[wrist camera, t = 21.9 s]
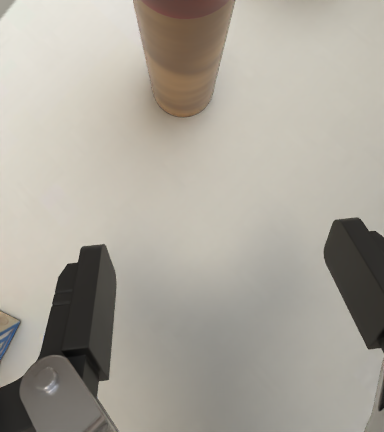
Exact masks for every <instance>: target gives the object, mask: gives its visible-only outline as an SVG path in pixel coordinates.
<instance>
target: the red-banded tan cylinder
mask: <svg viewBox="0 0 384 432" xmlns="http://www.w3.org/2000/svg"><path fill="white" fill-rule="evenodd" d="M133 3H134V8H135V12H136V17H137V22H138V26H139V31H140V35H141V40H142V45H143V49H144V54H145V58H146V63H147V68H148V72H149V77H150V81H151V86H152V91H153V95H154V97H155V100H156V102H157V103H158V105H159V106H160V107H161V108H162V109H163V110H164V111H166V112H167V113H169V114H171V115H174V116H178V117H188V116H193V115H195V114H197V113H199V112H201V111H202V110H203V109H204V108H205V107H206V106H207V105H208V104H209V102H210V100H211V98H212V95H213V91H214V87H215V82H216V78H217V74H218V70H219V66H220V62H221V58H222V53H223V49H224V45H225V41H226V37H227V33H228V29H229V24H230V20H231V16H232V12H233V8H234V4H235V0H133Z"/></svg>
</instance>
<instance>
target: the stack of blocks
mask: <svg viewBox="0 0 384 432" xmlns="http://www.w3.org/2000/svg"><path fill="white" fill-rule="evenodd" d="M19 324H20V321H19V320H17V319H15V318H13V317H11V316H9V315H7V314H5V313H3V312H1V311H0V361H1V358H2V356H3V355H4V353H5V351H6V349H7V347H8V345H9V343H10V341H11V339H12V337H13V335H14V334H15V332H16V330H17V328H18V326H19Z"/></svg>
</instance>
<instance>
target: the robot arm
mask: <svg viewBox="0 0 384 432" xmlns="http://www.w3.org/2000/svg"><path fill="white" fill-rule="evenodd" d="M324 259H325V262H326V265H327V267H328V269H329V271H330V273H331V275H332V277H333V279H334V281H335V283H336V285H337V287H338V289H339V291H340V293H341V295H342V297H343V299H344V301H345V303H346V305H347V307H348V309H349V312H350V314H351V316H352V318H353V320H354V322H355V324H356V326H357V328H358V330H359V332H360V334H361V336H362V338H363V340H364V342H365V344H366V346H367V348H368V349H376V348H382V350H383V352H384V237H383V236H381V235H380V234H379V233H377V232H376V231H368V229H367V228H366V226H365V225H364V223H363V222H362V220H361V219H359V218H348V219H339V220H335V221H334V222H333V224H332V226H331V229H330V232H329V235H328V238H327V241H326V244H325V247H324ZM115 297H116V274H115V270H114V267H113V264H112V262H111V259H110V256H109V253H108V250H107V248H106V246H105V244H102V245H92V246H83V247H82V248H81V250H80V255H79V260H78V263H71V264H67V266H66V267H65V269H64V270H63V271H62V273H61V274H60V276H59V277H58V281H57V286H56V290H55V295H54V298H53V302H52V304H53V306H52V307H51V311H50V315H49V319H48V323H47V327H46V332H45V336H44V340H43V344H42V348H41V352H40V355H39V357H38V359H37V361H36V362H35V363H34V364H33V365H32V366H31V367H30V368H29V369H28V370H27V372H26V373H25V375H24V376H22V377H21V378H19V379H18V380H16V381H14V382H12V383H10V384H8V385H6V386H4V387H1V388H0V432H119V430H118V429H117V427H116V426H115V424H114V423H113V421H112V419H111V418H110V416H109V415H108V413H107V412H106V410H105V409H104V407H103V406H102V404H101V403H100V401H99V400H98V398H97V392H98V383H99V381H105V380H109V370H110V358H111V346H112V334H113V322H114V310H115ZM364 432H384V358H383V361H382V366H381V371H380V376H379V381H378V386H377V390H376V395H375V400H374V405H373V410H372V413H371V416H370V419H369V421H368V423H367V425H366V427H365V430H364Z"/></svg>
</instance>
